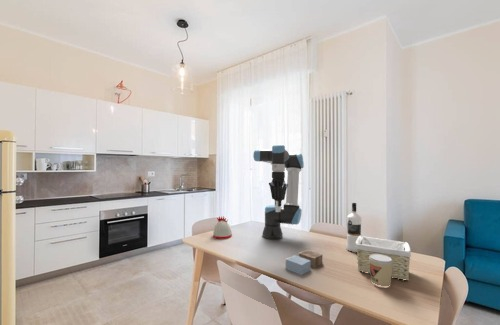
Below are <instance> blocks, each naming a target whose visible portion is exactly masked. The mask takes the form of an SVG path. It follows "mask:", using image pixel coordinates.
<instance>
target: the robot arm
mask: <svg viewBox="0 0 500 325" xmlns="http://www.w3.org/2000/svg"><path fill="white" fill-rule="evenodd" d="M252 156H253V161H255V162H263V163H267V164H270V165H271V171H272V172H271V178H272V179H271V182H268V185H269V188H270V190H269V191H270V194H271V199H272V200H274V204H271V205H267V206H266V207H264V227H263V231H262V235H261V236H262V237H263V238H265V239H268V240H280V239H282V238H283V237H284V234H283V231H282V227H281V224H284V225H291V226H292V225H299V224H300V222H301V218H302V211H303V210H302V208H300V205H299V203H298V202H299V185H300V173H301V171H302V169H303V168H304V167H305V165H304V164H305V163H304V157H303V154H302V153H301V152H288V150H286V147H285V145H283V144H274V145H272V147H271V149H255V150H254V152H253V155H252ZM285 171H286V172H287V178H286V175H285V174H286V173H285ZM285 178H286V179H287V181H285ZM284 200H285V203H284V204H283V206H282V201H284Z"/></svg>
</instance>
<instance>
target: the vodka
mask: <svg viewBox="0 0 500 325" xmlns="http://www.w3.org/2000/svg"><path fill="white" fill-rule="evenodd" d="M346 223H347V224H346V225H347V226H346V227H347V228H346V230H347V231H346V236H347V238H346V244H345V249H346V250H347V251H348V250H349V252H350V251H352V252H351V253H356V252H357V249H356V241H357V239H358V237H359V236H362V217H361V215H359V213H357V203H356V202H351V212H350V213H349V214H347V217H346Z"/></svg>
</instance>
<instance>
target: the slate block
mask: <svg viewBox="0 0 500 325" xmlns="http://www.w3.org/2000/svg"><path fill="white" fill-rule="evenodd" d="M284 264H285V268H284V269H285V270H288V271H290V272H293V273H295V274H297V275H299V276H300V275H301V276H303V275H304V274H306V273H308V272H310V271H311V261H310V260H307V259H304V258H302V257H299V255H295V254H293V255H291V256H290V257H289V256H288V257H287V258H285V263H284Z"/></svg>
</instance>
